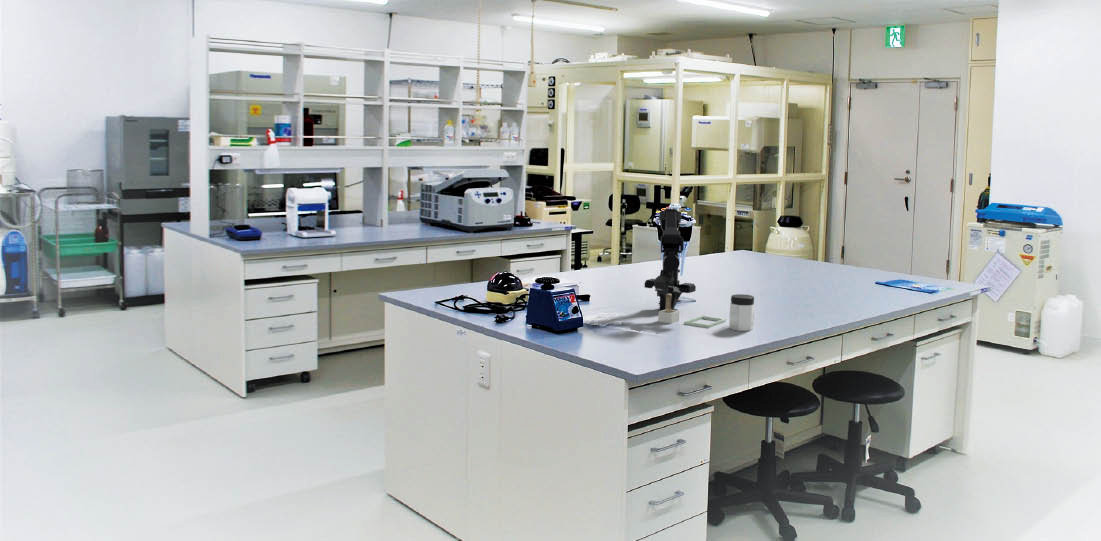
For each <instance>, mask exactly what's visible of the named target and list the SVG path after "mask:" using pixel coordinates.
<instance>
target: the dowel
mask: <svg viewBox="0 0 1101 541" xmlns="http://www.w3.org/2000/svg"><path fill="white" fill-rule="evenodd" d="M671 302H672V295H671V294H666V310H665V312H668V313H672V312H673V309H671Z"/></svg>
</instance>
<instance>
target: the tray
mask: <svg viewBox="0 0 1101 541" xmlns="http://www.w3.org/2000/svg"><path fill="white" fill-rule="evenodd" d="M700 320H701V321H702V320H706V321H707V320H708V321H714V322H712V323H708V324H707V323H700V322H697V321H700ZM726 322H727V319H726V318H720V317H715V316H714V317H713V316H707V315H700V316H697V317H694V318H690V319H688V320H685V321H684V322H683V325H686V326H687V325H688V326H691V327H699V328H706V329H710V328H713V327H716V326H719V325H721V324H724V323H726Z"/></svg>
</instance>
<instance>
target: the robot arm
mask: <svg viewBox="0 0 1101 541" xmlns="http://www.w3.org/2000/svg"><path fill="white" fill-rule="evenodd" d="M658 220H659V222H658V223H659V224H660V228H661V230H662V236H660V253H663V254H662V269H660V274H659V275H657V277H656V278H649V279H646V280H645V281H644V288H646V289H653V287H654V288H655V289H654V291H655V292H656V297H659V311H662V310H666V294H671V295H672V302H671V309H673V310H674V311H679V309H677V308H675V307H676V306H677V303H678V301H679V298H681V295H682V294H684V293H685V294H690V293H694V292H696V289H697V288H696V287H697V286H696V285H695V283H690V282H684V283H680V280H679V273H680V272H681V269H679V266H680V264H681V263H680V258H679V255H680V254H682V253H683V251H684V248H685V247H684V238H683V236H681V231H680V230H679V227H680V226H679V225H680V224H681V223H682V212H681V211H679V210H678V209H676V208H666V209H663V210H661V211H659V217H658Z"/></svg>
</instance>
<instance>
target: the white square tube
mask: <svg viewBox="0 0 1101 541" xmlns="http://www.w3.org/2000/svg"><path fill="white" fill-rule="evenodd" d="M657 318H658V321H657V322H658V323H659V322H660V323H665V324H666V323H667V324H675V323H678V322H679V321H680V311H679V310H678V311H676V310H673V312H672V313H668V312H665V310H659V311H658V317H657Z"/></svg>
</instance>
